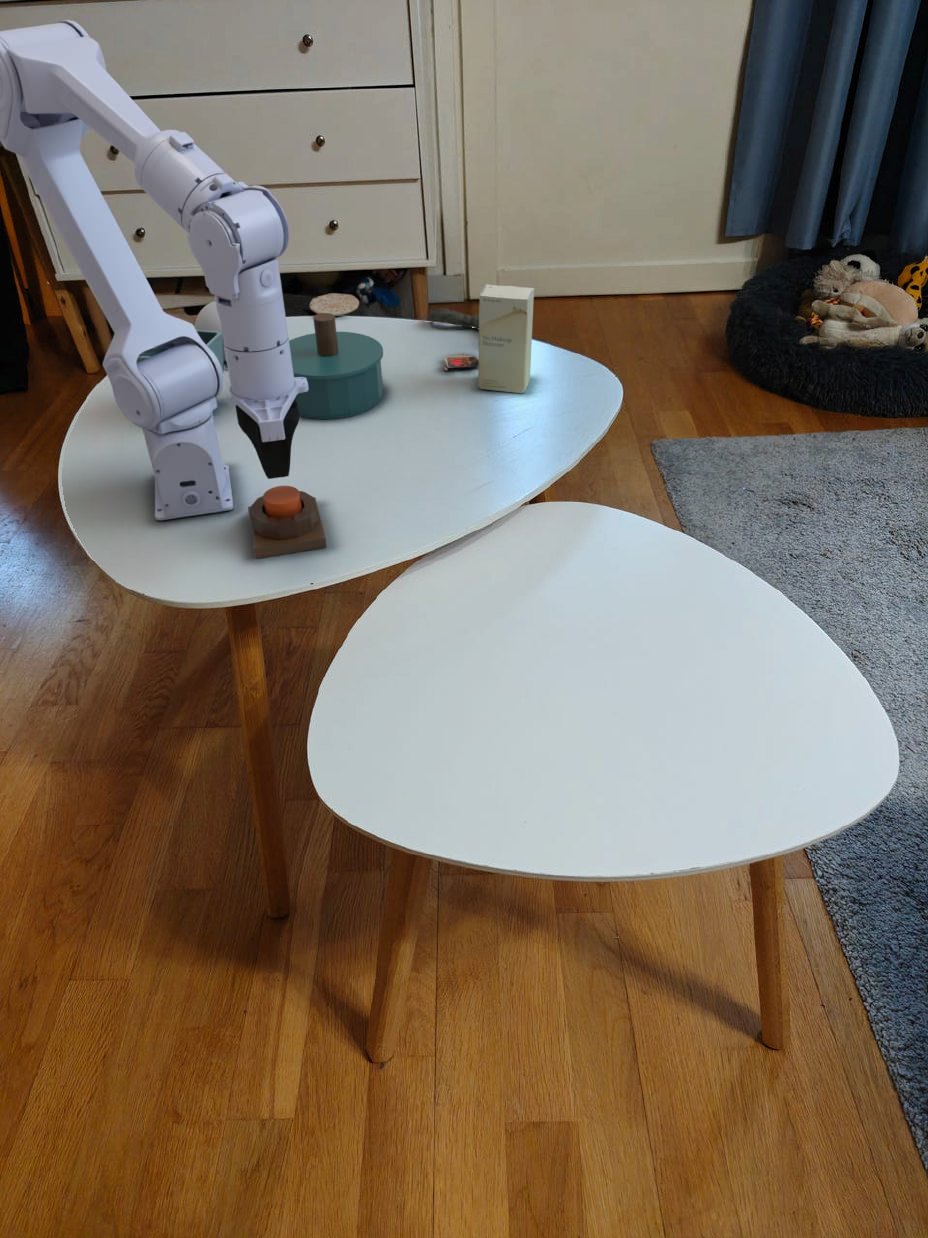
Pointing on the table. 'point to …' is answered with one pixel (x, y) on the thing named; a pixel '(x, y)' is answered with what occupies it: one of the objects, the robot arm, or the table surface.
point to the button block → (286, 529)
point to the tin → (341, 395)
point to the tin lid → (332, 351)
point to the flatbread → (334, 304)
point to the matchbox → (461, 361)
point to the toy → (454, 317)
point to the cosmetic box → (505, 338)
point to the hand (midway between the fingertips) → (277, 474)
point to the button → (282, 501)
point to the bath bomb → (209, 321)
